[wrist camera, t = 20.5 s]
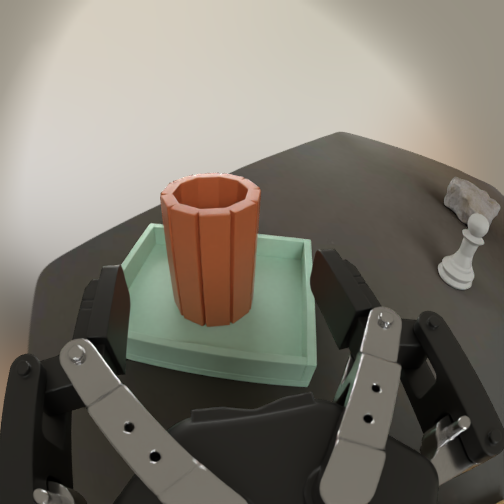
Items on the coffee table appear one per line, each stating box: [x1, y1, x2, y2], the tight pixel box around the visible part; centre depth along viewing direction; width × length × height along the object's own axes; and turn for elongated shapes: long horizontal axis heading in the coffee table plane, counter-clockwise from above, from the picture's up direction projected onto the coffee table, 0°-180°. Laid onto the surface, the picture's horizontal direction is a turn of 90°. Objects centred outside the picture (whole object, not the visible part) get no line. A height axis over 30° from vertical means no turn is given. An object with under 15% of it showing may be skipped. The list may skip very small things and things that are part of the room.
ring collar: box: [160, 173, 261, 327], centre depth 21 cm, size 6×6×9 cm
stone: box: [444, 177, 500, 226], centre depth 38 cm, size 10×8×6 cm
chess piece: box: [438, 213, 489, 290], centre depth 26 cm, size 5×5×8 cm
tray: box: [121, 224, 317, 387], centre depth 23 cm, size 15×13×3 cm
